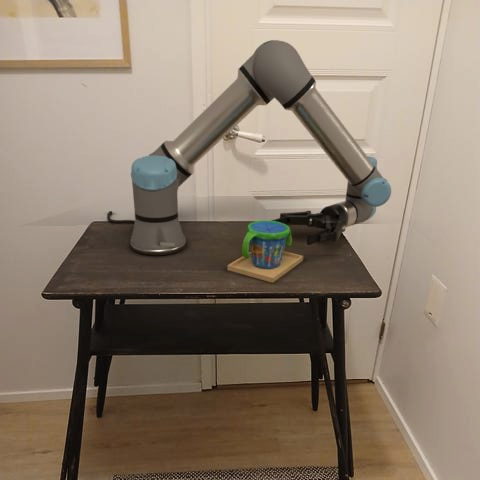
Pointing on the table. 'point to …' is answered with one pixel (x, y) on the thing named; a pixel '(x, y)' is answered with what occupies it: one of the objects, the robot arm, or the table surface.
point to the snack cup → (266, 243)
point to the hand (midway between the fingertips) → (288, 232)
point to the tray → (265, 274)
